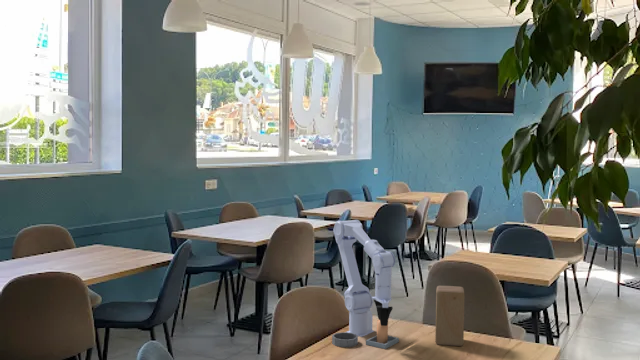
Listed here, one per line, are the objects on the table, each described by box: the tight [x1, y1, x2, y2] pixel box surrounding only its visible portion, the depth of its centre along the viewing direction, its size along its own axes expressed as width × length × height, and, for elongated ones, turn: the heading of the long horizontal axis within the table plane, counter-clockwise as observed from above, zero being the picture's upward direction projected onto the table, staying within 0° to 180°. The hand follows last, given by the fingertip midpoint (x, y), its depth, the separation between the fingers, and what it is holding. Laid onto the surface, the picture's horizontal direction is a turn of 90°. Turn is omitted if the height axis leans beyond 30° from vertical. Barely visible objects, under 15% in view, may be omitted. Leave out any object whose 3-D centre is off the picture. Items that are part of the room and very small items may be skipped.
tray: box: [365, 335, 400, 350], centre depth 222 cm, size 10×8×2 cm
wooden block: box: [434, 285, 465, 347], centre depth 226 cm, size 10×10×20 cm
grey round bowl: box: [331, 331, 359, 348], centre depth 222 cm, size 9×9×3 cm
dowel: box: [376, 319, 389, 344], centre depth 222 cm, size 4×4×8 cm
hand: (382, 322), depth 222 cm, fingers open, 7 cm apart
